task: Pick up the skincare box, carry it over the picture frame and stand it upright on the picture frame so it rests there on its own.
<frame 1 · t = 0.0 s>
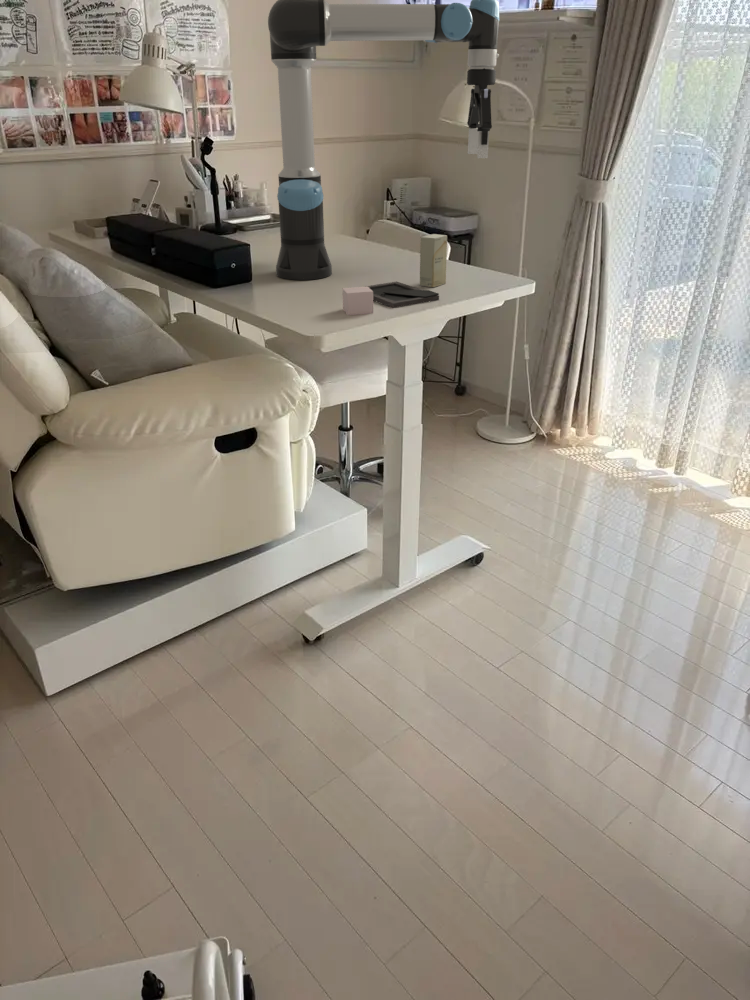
hand: (477, 156, 218), 28 cm above the table, tool pointing down, fingers open, 13 cm apart
picture frame: (395, 299, 194), on the table
skincare box: (432, 285, 204), on the table
pink box: (358, 311, 181), on the table
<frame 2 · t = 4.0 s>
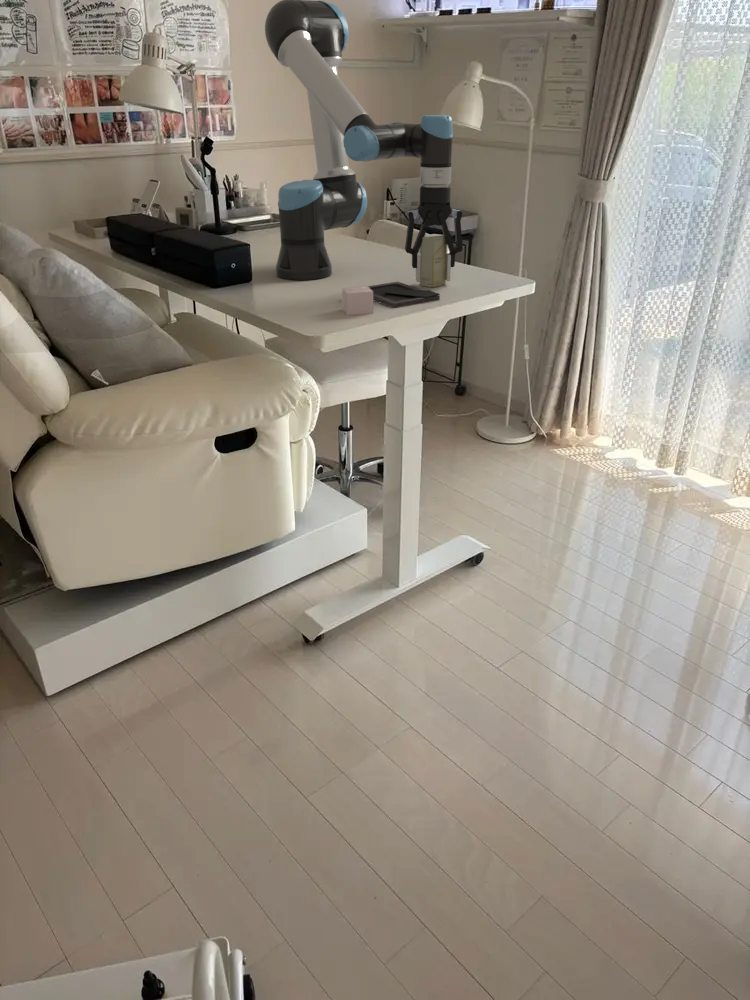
hand: (432, 280, 203), 1 cm above the table, tool pointing down, fingers closed on skincare box, 7 cm apart
skincare box: (432, 285, 204), on the table, touching gripper
everything else where it was.
when the fingers open (5 cm above the table, at t = 9.1 s): skincare box drops 2 cm, resting on picture frame.
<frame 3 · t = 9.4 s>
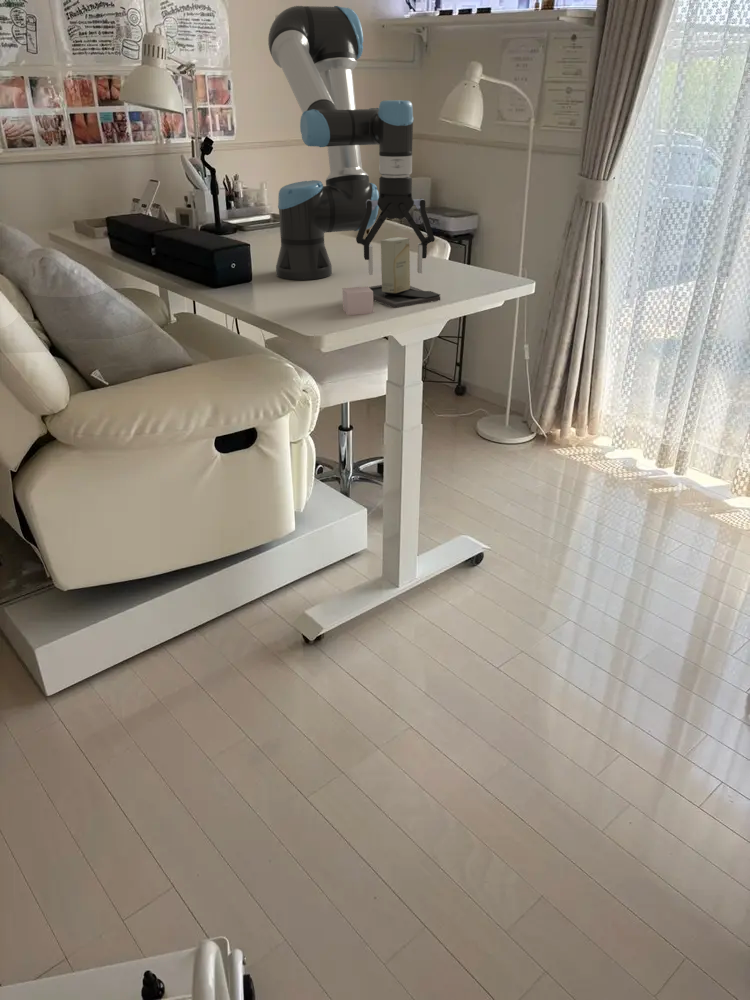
hand: (395, 272, 191), 6 cm above the table, tool pointing down, fingers open, 11 cm apart
picture frame: (396, 299, 194), on the table, touching skincare box
skincare box: (396, 291, 193), point 1 cm above the table, touching picture frame
everything else where it was.
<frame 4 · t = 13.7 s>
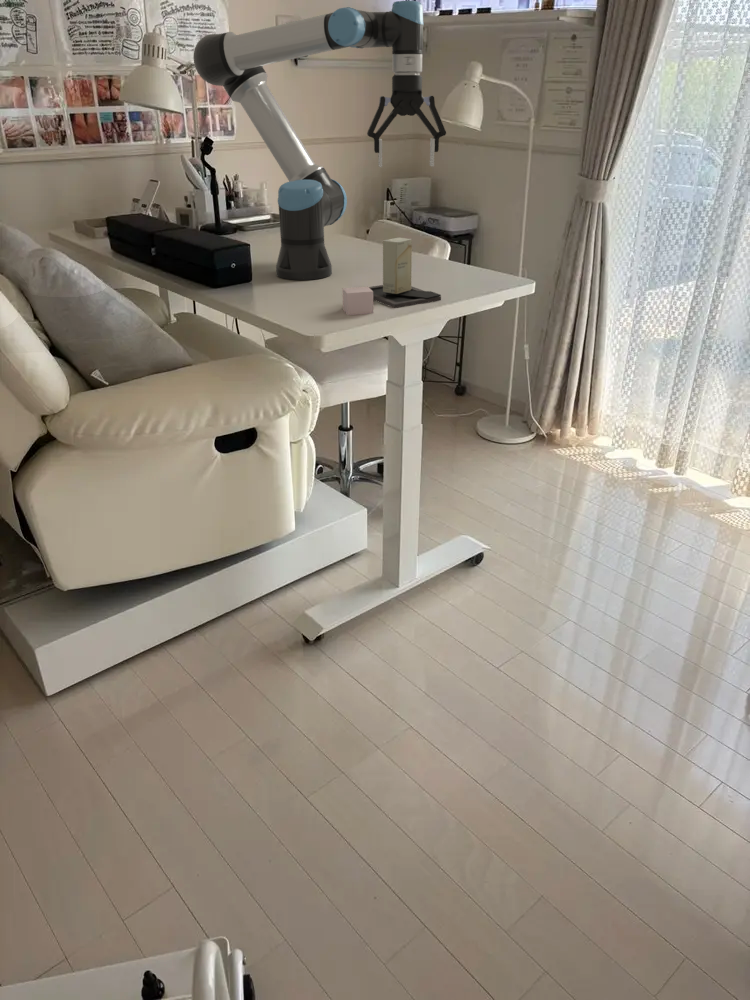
hand: (406, 166, 207), 27 cm above the table, tool pointing down, fingers open, 13 cm apart
nothing on the table moved.
at the end: skincare box inside the target area on the picture frame (0.1 cm from its centre), point 2.1 cm above the picture frame's base; skincare box tilted 1°; the gripper is holding nothing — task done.
